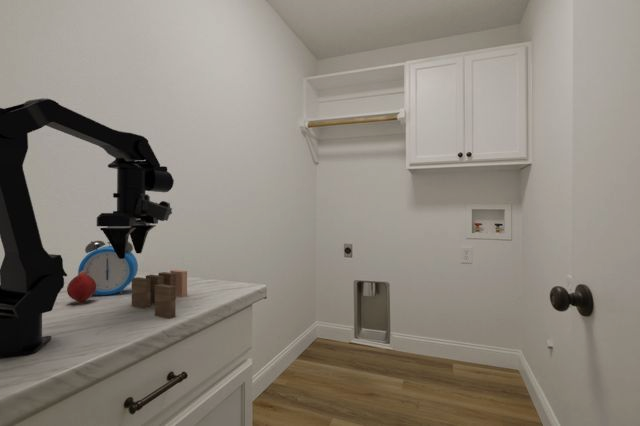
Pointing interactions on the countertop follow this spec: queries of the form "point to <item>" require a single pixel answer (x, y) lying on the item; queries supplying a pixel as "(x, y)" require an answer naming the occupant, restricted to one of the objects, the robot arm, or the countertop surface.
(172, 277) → the tile
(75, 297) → the onion
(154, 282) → the tile
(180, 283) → the tile
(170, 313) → the tile
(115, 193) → the robot arm
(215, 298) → the countertop surface
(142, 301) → the tile
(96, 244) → the alarm clock
